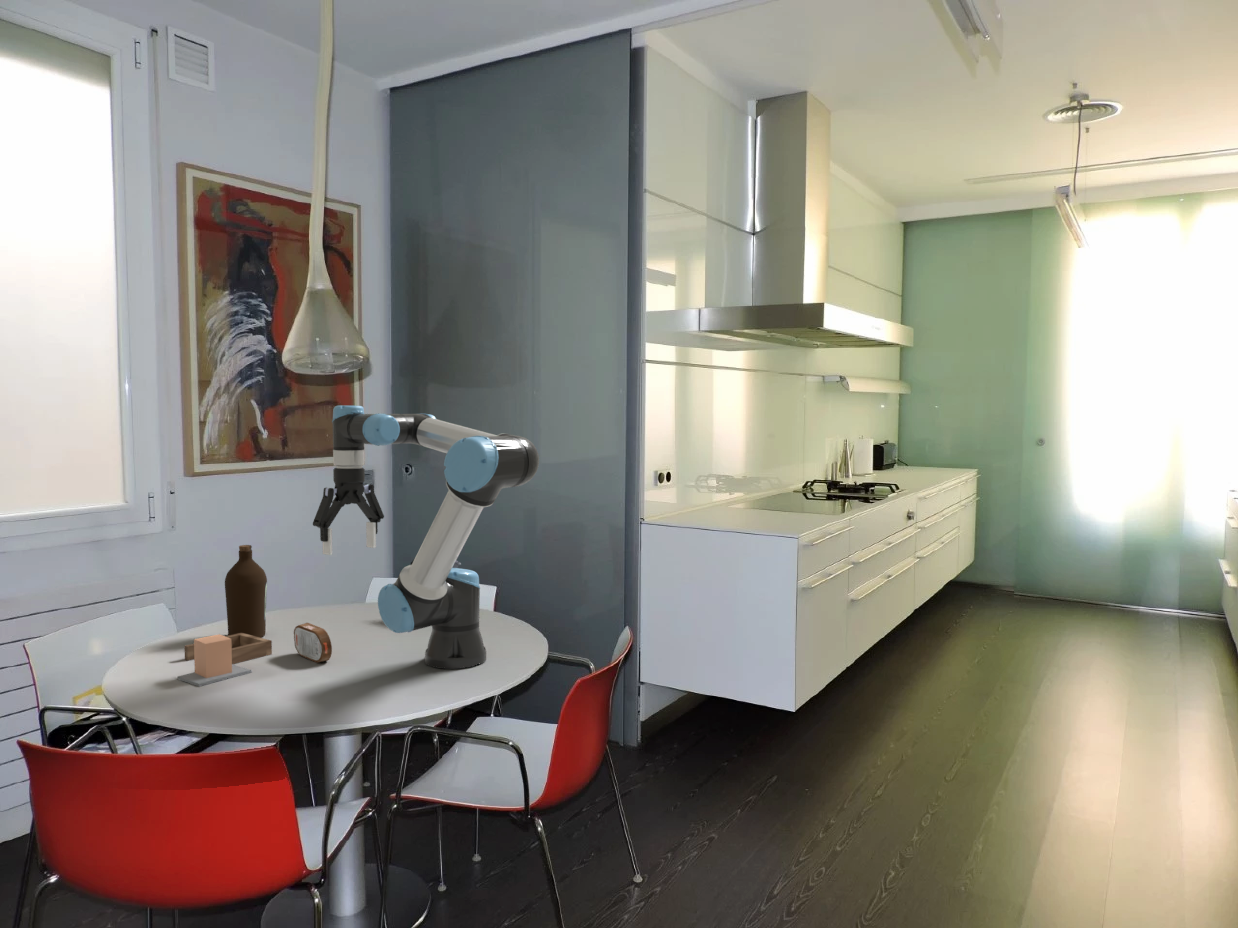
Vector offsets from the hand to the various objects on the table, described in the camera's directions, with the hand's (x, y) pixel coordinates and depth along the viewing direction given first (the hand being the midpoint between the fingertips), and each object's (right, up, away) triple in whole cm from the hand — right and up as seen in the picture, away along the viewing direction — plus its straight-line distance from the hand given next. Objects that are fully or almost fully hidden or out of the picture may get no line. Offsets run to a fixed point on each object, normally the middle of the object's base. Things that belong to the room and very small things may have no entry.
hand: (349, 550), depth 223 cm
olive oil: (-34, -25, +18) cm, 46 cm away
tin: (-9, -27, -2) cm, 29 cm away
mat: (-27, -28, -17) cm, 42 cm away
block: (-27, -27, -16) cm, 41 cm away
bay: (-30, -27, -1) cm, 40 cm away
